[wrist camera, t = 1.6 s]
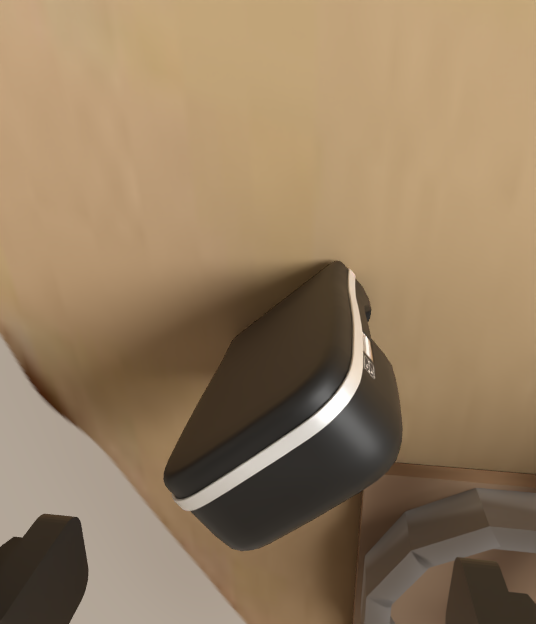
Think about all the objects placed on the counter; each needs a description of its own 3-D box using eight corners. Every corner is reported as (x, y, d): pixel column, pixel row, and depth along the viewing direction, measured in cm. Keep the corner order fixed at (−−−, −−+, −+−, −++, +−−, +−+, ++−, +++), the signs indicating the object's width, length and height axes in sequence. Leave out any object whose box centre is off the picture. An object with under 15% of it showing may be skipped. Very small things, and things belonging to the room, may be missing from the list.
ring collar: (667, 485, 24) (718, 542, 21) (600, 689, 29) (633, 761, 25) (364, 460, 26) (367, 508, 23) (349, 654, 31) (350, 718, 27)
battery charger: (278, 396, 25) (229, 595, 15) (227, 340, 25) (137, 506, 14) (395, 315, 23) (436, 481, 12) (342, 251, 22) (338, 368, 12)
